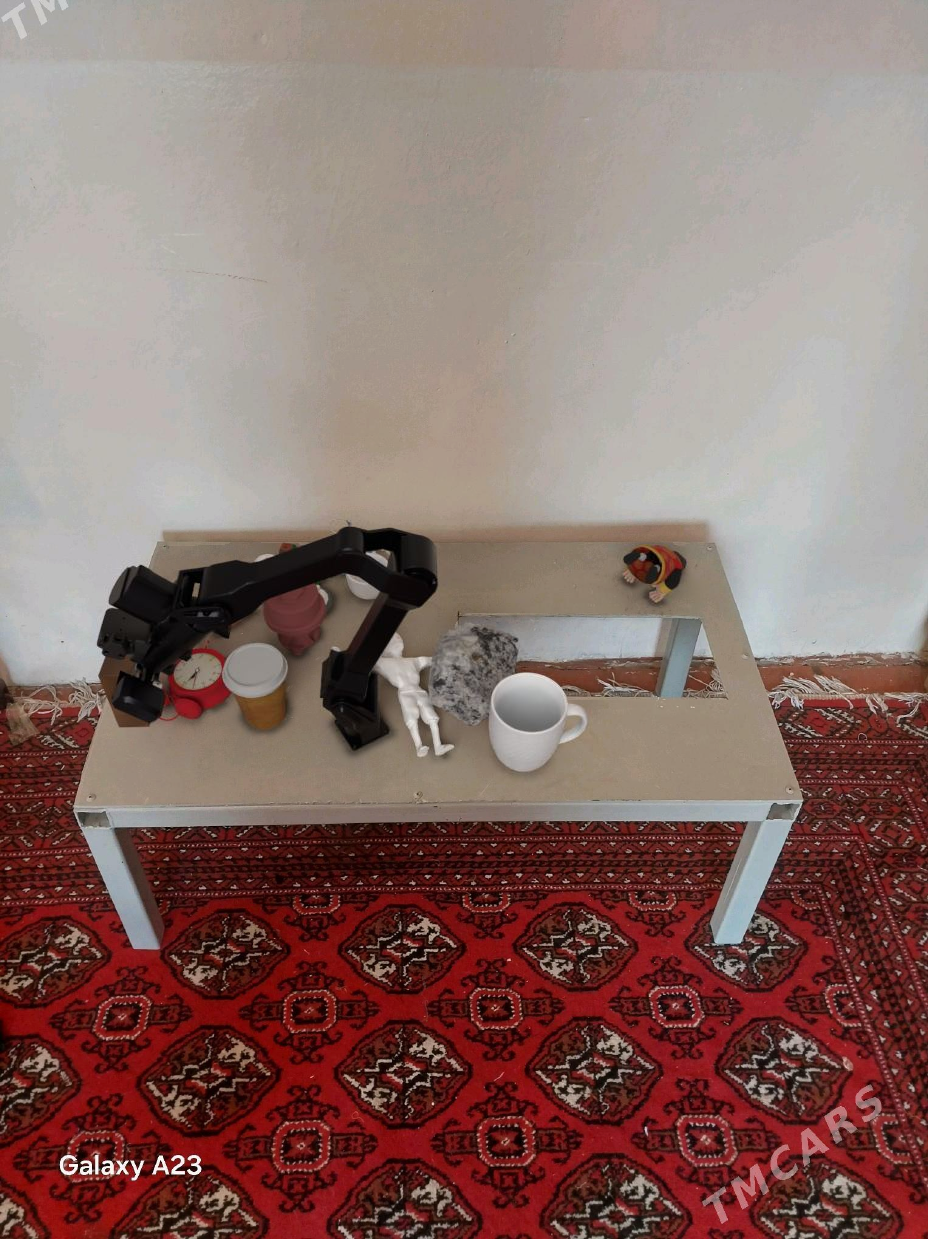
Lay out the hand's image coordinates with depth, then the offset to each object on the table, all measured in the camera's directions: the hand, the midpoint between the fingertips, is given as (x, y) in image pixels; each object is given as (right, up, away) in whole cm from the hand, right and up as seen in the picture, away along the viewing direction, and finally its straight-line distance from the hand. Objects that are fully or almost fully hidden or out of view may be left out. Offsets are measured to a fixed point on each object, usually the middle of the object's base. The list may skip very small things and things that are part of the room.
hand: (118, 685), depth 123 cm
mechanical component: (+22, +6, +23) cm, 32 cm away
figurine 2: (+79, +18, +25) cm, 84 cm away
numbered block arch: (+20, +18, +34) cm, 43 cm away
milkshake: (+16, +13, +29) cm, 36 cm away
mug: (+59, -11, +9) cm, 61 cm away
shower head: (+25, +29, +42) cm, 57 cm away
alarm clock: (+6, -2, +15) cm, 17 cm away
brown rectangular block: (+1, -5, +4) cm, 7 cm away
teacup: (+33, +15, +32) cm, 48 cm away
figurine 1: (+46, -8, +4) cm, 47 cm away
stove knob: (+23, +12, +29) cm, 39 cm away
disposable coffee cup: (+18, -5, +13) cm, 23 cm away
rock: (+55, +4, +9) cm, 55 cm away
